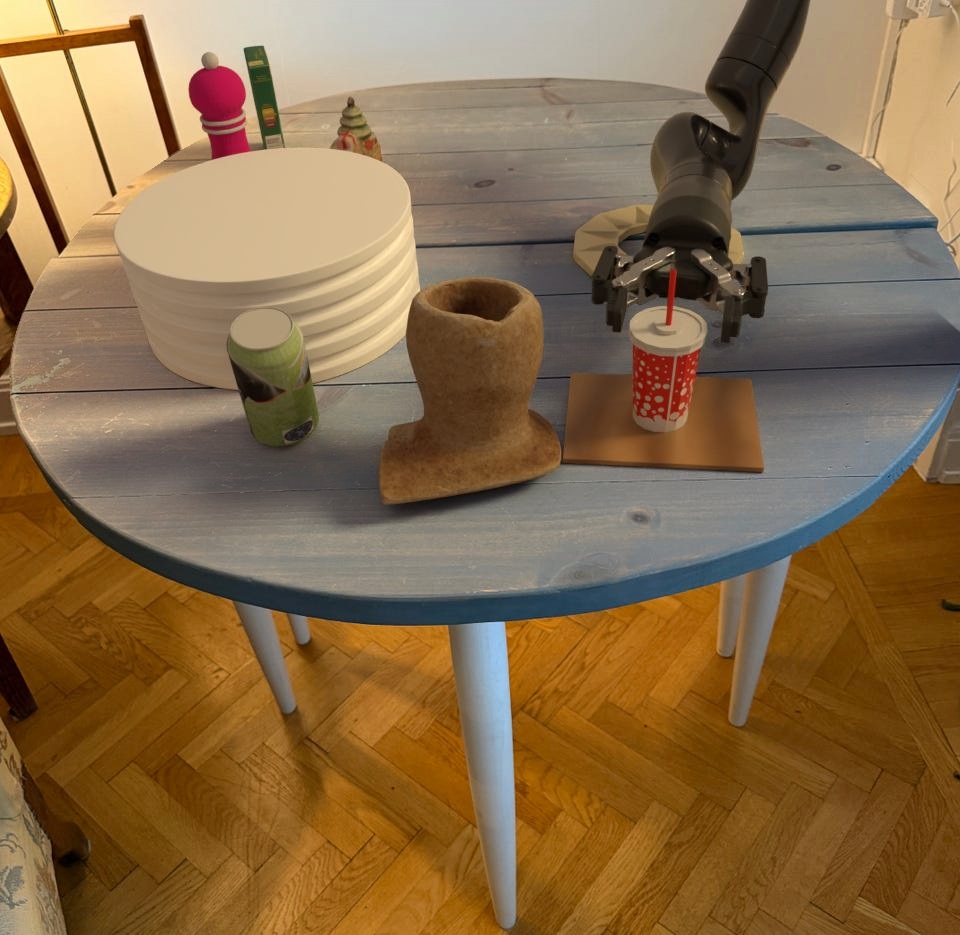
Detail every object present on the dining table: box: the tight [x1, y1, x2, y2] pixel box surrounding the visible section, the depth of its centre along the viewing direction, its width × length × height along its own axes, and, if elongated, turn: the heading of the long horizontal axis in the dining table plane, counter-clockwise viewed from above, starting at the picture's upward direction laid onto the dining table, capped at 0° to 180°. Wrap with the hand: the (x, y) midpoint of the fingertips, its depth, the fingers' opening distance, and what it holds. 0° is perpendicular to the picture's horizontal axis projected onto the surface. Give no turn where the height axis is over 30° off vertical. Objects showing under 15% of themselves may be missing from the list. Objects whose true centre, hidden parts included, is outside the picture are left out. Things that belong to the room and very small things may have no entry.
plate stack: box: [113, 147, 421, 391], centre depth 93 cm, size 28×28×12 cm
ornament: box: [329, 95, 384, 163], centre depth 117 cm, size 8×6×10 cm
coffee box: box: [242, 45, 286, 150], centre depth 123 cm, size 8×3×13 cm, turn 15°
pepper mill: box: [188, 51, 252, 160], centre depth 104 cm, size 7×7×20 cm
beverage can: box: [226, 307, 320, 447], centre depth 77 cm, size 6×7×12 cm
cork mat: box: [562, 372, 765, 473], centre depth 79 cm, size 16×12×1 cm
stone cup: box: [378, 276, 562, 505], centre depth 72 cm, size 15×12×15 cm
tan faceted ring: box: [572, 204, 745, 290], centre depth 101 cm, size 18×18×1 cm
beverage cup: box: [629, 268, 708, 432], centre depth 75 cm, size 6×6×14 cm
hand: (671, 328), depth 73 cm, fingers open, 8 cm apart
